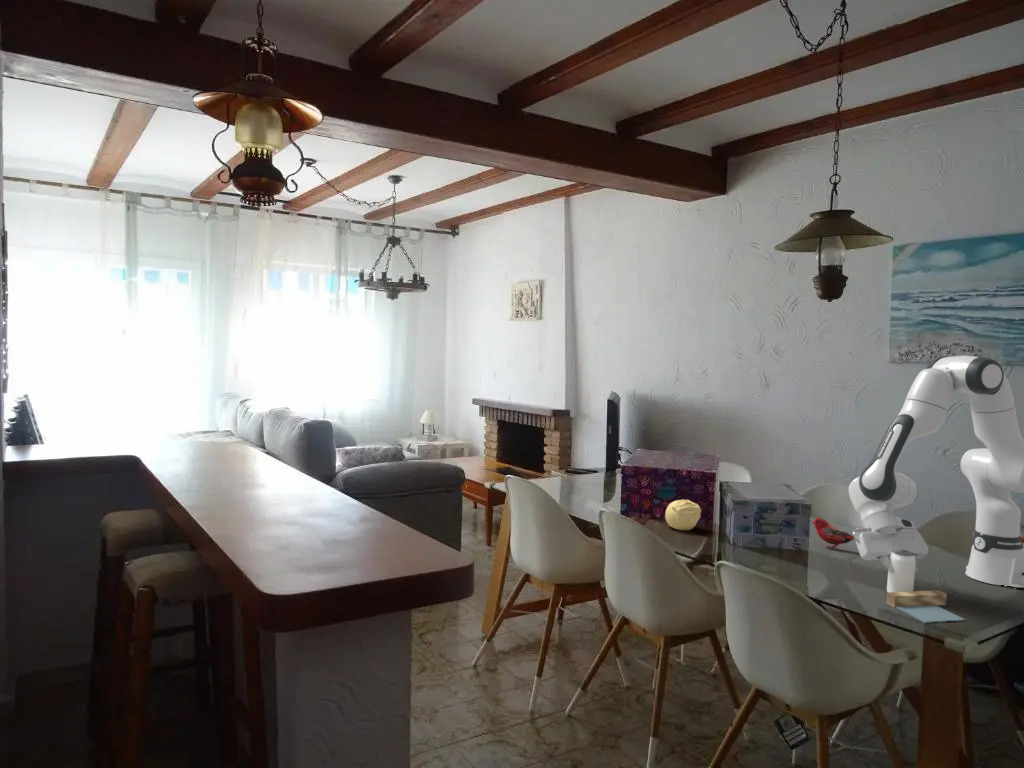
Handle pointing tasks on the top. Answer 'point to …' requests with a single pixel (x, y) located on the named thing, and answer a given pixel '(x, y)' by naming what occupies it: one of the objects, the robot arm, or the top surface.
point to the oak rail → (916, 598)
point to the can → (901, 571)
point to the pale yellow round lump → (682, 514)
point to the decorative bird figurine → (831, 533)
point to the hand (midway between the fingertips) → (904, 572)
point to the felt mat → (929, 613)
